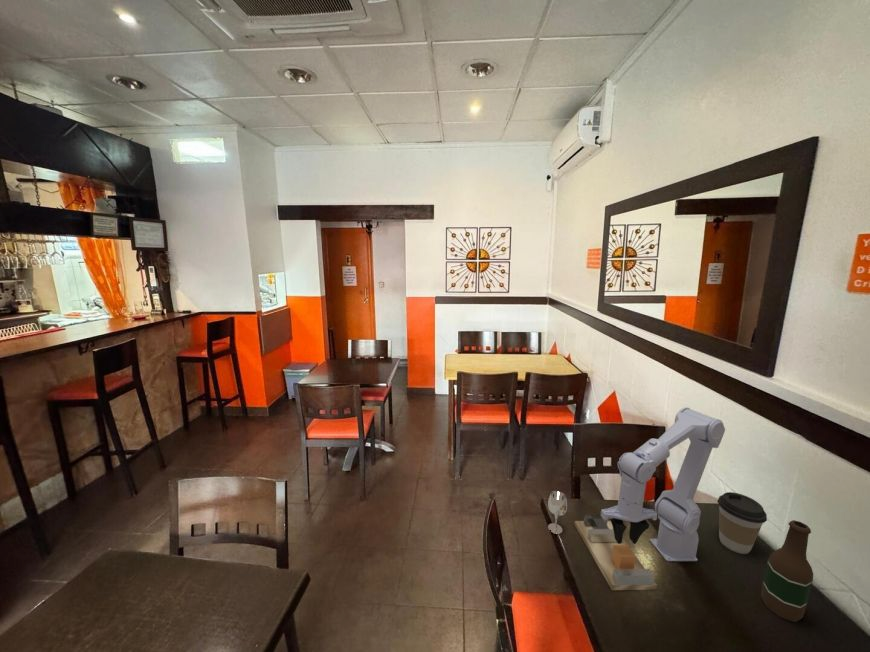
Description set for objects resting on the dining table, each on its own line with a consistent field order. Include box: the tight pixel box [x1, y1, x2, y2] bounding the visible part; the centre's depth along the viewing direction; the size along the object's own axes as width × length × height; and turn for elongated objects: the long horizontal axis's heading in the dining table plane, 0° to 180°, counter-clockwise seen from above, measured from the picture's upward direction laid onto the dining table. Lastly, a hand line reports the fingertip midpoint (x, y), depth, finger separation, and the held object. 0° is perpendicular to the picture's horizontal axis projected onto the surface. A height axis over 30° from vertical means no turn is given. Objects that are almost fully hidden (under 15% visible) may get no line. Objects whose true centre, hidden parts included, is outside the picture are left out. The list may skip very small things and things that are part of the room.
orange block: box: [612, 544, 637, 569], centre depth 95 cm, size 4×4×5 cm
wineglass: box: [547, 490, 568, 535], centre depth 110 cm, size 6×6×12 cm
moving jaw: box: [583, 514, 625, 542], centre depth 108 cm, size 10×8×3 cm
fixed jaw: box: [612, 568, 656, 585], centre depth 91 cm, size 10×2×3 cm, turn 92°
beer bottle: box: [760, 519, 814, 623], centre depth 84 cm, size 8×8×24 cm
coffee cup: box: [716, 491, 768, 555], centre depth 105 cm, size 11×11×15 cm
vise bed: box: [574, 520, 658, 591], centre depth 102 cm, size 12×23×2 cm, turn 2°
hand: (625, 541), depth 95 cm, fingers open, 4 cm apart
